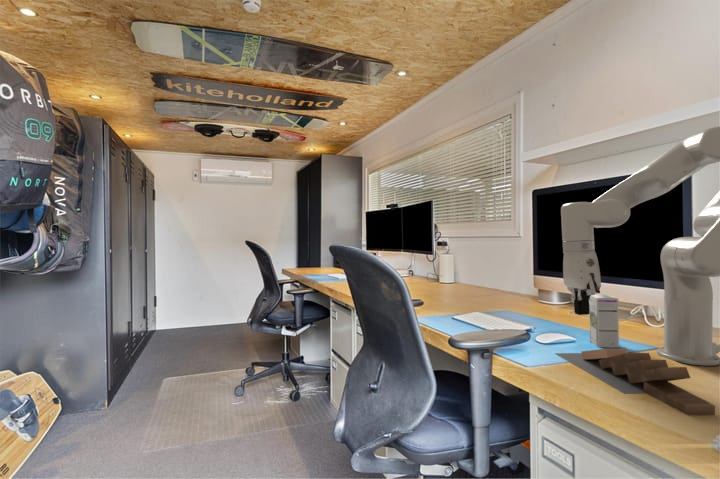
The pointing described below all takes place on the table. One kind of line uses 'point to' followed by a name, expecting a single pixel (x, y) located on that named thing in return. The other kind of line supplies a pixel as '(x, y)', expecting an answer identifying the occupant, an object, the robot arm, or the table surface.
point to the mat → (603, 373)
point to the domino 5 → (678, 398)
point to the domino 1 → (602, 353)
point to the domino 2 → (623, 359)
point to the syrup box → (604, 321)
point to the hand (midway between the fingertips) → (582, 314)
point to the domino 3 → (637, 366)
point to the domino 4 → (658, 375)
